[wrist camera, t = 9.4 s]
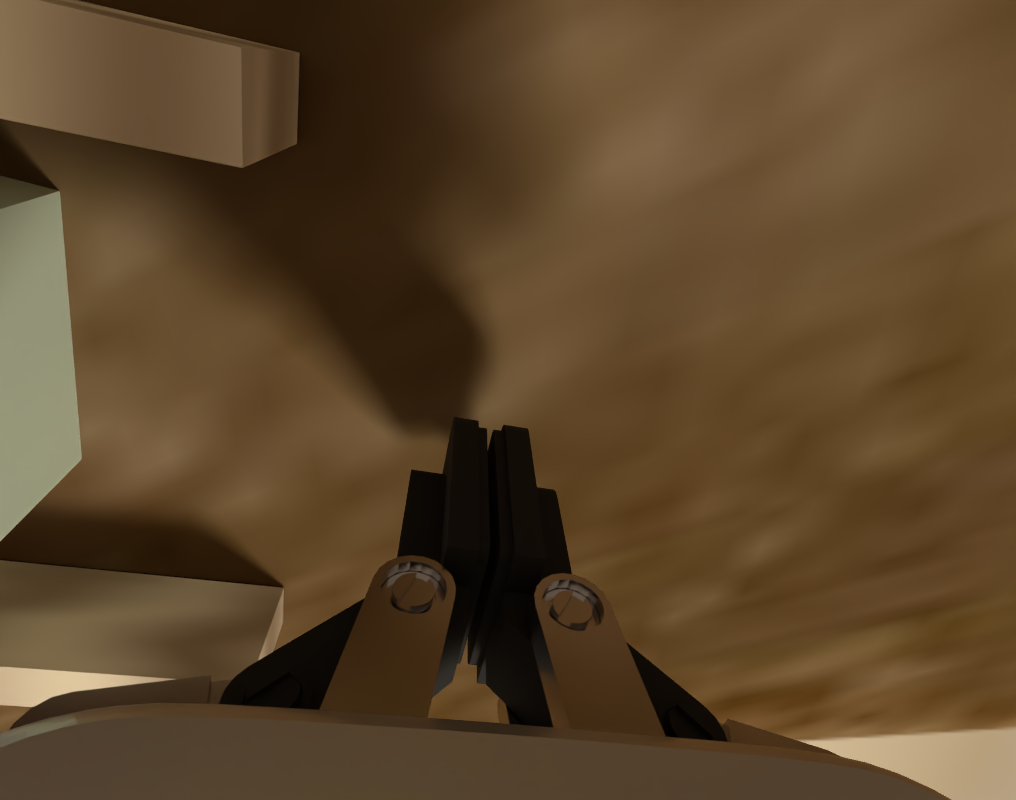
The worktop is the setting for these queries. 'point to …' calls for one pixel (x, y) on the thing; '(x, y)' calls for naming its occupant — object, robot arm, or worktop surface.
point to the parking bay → (177, 130)
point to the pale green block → (34, 351)
